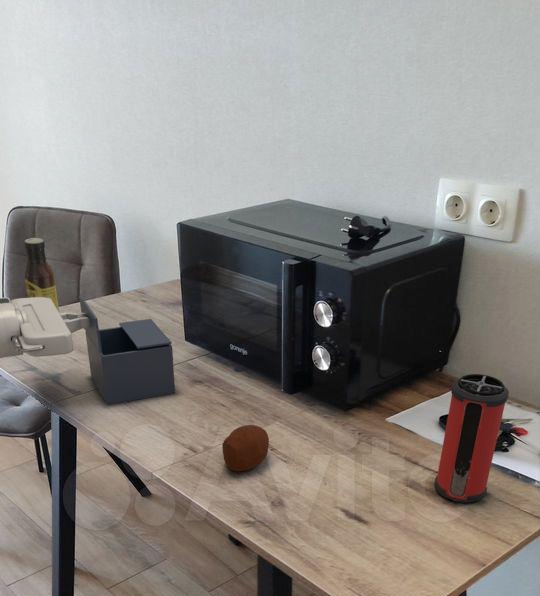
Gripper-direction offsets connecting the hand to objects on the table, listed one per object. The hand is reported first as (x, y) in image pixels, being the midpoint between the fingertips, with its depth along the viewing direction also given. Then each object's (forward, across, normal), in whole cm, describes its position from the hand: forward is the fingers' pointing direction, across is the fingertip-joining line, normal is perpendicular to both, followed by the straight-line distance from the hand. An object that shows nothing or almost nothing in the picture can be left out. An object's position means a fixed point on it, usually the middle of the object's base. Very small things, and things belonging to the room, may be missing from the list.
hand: (88, 319), depth 126 cm
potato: (+16, -35, +14) cm, 41 cm away
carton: (+7, 0, +14) cm, 16 cm away
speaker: (+43, -55, +14) cm, 71 cm away
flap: (0, 0, +1) cm, 1 cm away
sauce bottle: (-3, +36, +14) cm, 39 cm away
